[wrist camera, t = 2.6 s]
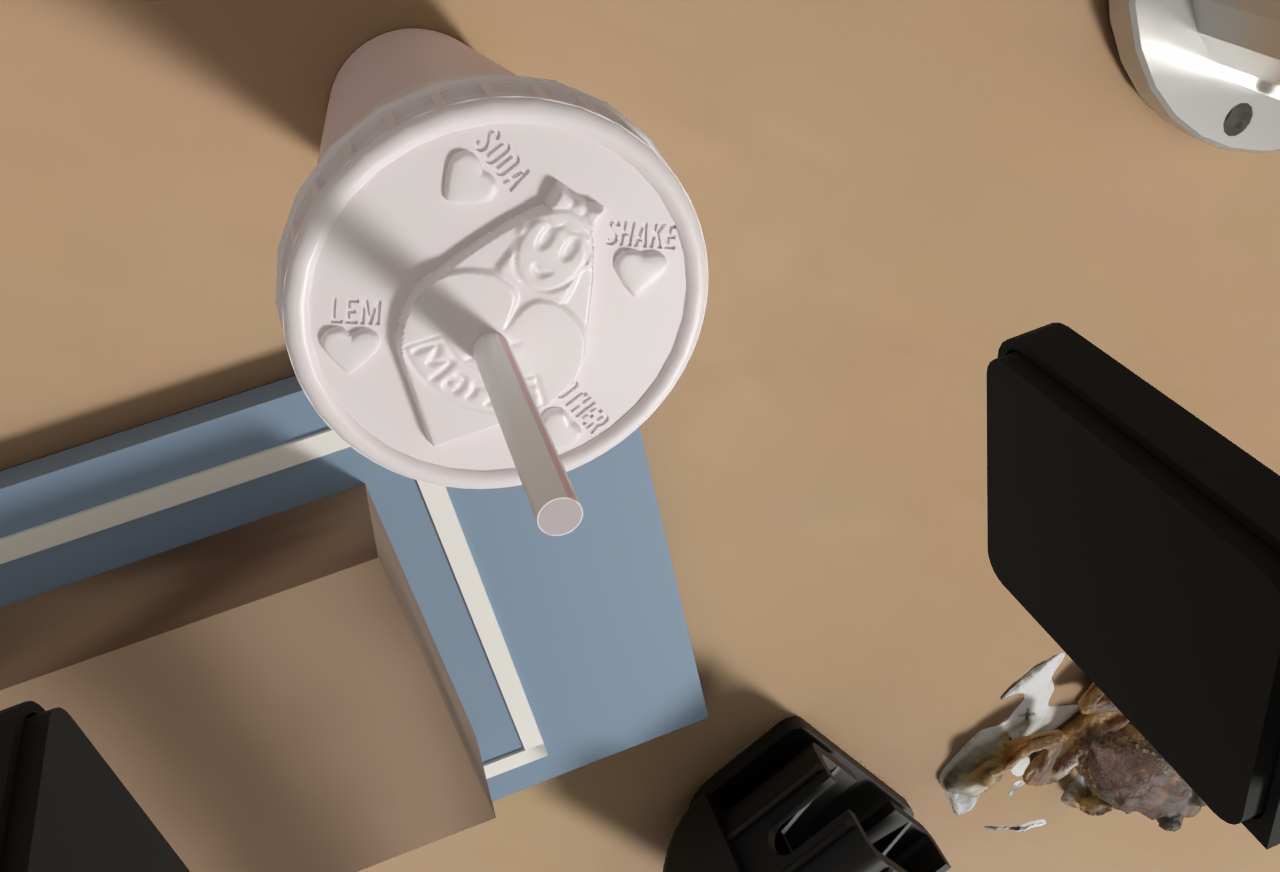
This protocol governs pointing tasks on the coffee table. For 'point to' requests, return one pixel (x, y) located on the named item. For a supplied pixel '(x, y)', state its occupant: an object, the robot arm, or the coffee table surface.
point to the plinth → (262, 693)
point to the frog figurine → (1070, 757)
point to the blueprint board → (403, 566)
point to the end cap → (799, 814)
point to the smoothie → (485, 273)
